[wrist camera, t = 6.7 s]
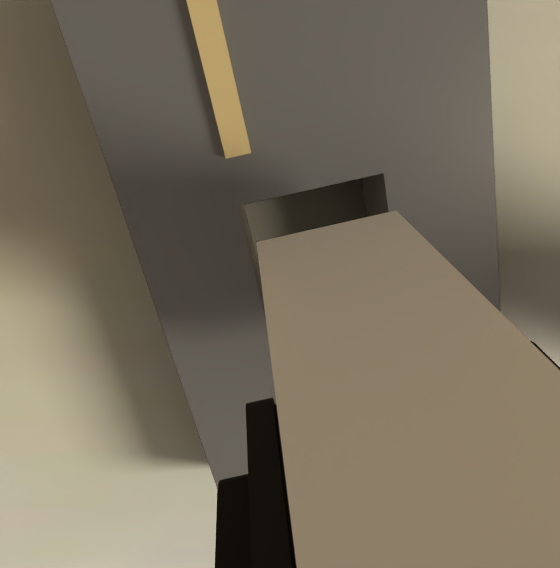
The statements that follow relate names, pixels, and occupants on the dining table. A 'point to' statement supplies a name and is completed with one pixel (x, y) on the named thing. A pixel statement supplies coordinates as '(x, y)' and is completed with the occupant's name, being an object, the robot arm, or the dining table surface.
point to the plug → (406, 407)
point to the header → (278, 153)
